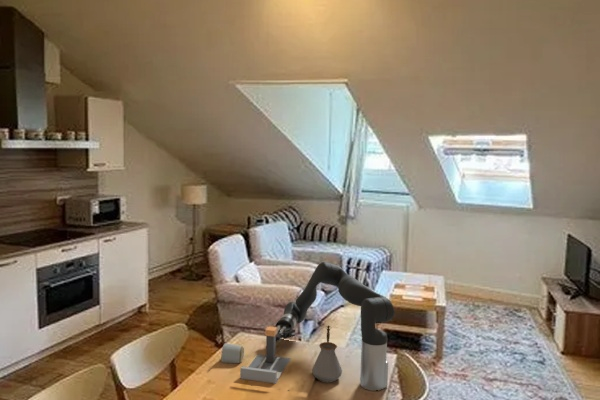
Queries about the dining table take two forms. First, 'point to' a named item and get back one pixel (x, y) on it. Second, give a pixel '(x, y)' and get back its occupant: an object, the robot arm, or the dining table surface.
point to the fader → (270, 343)
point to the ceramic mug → (232, 353)
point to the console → (264, 369)
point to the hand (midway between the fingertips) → (275, 339)
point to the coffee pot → (327, 362)
